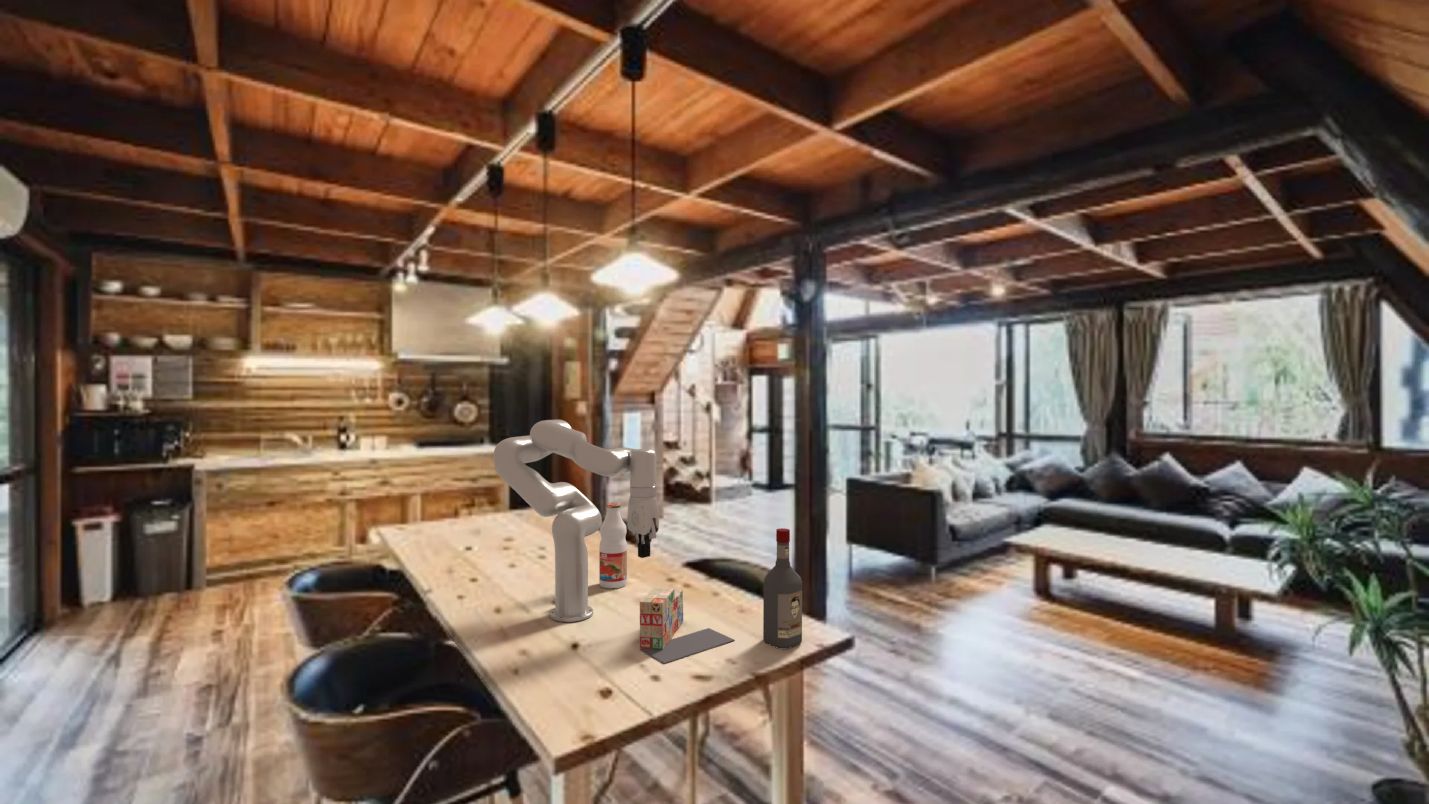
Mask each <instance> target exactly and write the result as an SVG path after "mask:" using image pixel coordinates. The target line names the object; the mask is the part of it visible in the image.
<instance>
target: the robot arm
mask: <svg viewBox="0 0 1429 804" xmlns="http://www.w3.org/2000/svg"><path fill="white" fill-rule="evenodd" d="M587 439H588V438H587V435H586V434H585V433H584V432H582V431H579V430H577V429H576V430H575V429H573V428H572V426H571V425H570V424H569V423H568V422H567V421H566V420H563V419H546V420H540V421H538V422H536V423H534V425H533V426H532V427H531V429H530V432H529V435H521V436H514V437H508V438H505V439H503V440H501V441H499V442H498V443H497V444H496V446H495V448H494V450H493V454H492V455H493V456H492V458H493V459H492V460H493V465H494V468H495V470H496V472H497V474H498V476H499V478H501V480H503V481H504V482H505V484H507V485H508V486H509V487H510V488H511V489H512V490H514V491H515V492H516V494H518V495H519V496H520V497H521V499H523V500H524V501H525V502H526V503H527V505H529V507H531V508H532V509H533V511H535V512H536V513H537V514H538V515H539V516H541V517H544V518H548V517H553V516H554V520H552V525H551V534H552V538H553V543H554V545H553V547H554V569H555V570H554V577H555V578H554V582H555V583H554V588H555V589H554V591H555V593H554V598H553V601H554V605H555V606H554V608H553V609H552V610H550V612H549V617H550V619H551V620H553V621H556V622H562V623H572V622H575V623H576V622H579V621H580V622H581V621H584V620H587V619H589V618H591V617H592V616H593V615H594V608H593V607H592V606H590V605H589V559H588V558H589V556H588V547H587V545H586V542H585V538H586V537H589V536H591V535H594V534H595V533H596V532H598V531H599V530H600V527H601V525H602V523H603V521H602V514H601V512H600V511H599V509H598V508H597V506H596V505H595V504H594V503H593V502H592V501H591V500H590V499H589V498H588V497H586V496H585V495H584V494H583V493H582V492H581V491H580V490H579V489H577V487H576V486H574V485H573V484H571V483H569V482H566V481H565V482H564V481H560V482H559V481H558V482H555V483H554V482H553V483H552V482H549V481H548V480H546V479H545V478H544V477H543V476H542V475H541V473H539V472H538V471H536V470H535V469H533V468H532V467H529V466H528V465H526V464H528V463H534V462H537V461H540V460H542V459H544V458H546V457H547V456H549V455H551V454H553V453H554V454H556V455H559V456H560V457H561V456H562V457H564V458H567V459H570V460H572V461H573V462H574V464H575V465H577V466H578V467H580V468H582V469H583V470H586V471H589V472H591V473H594V474H597V475H600V476H602V477H614V476H617V475H618V476H619V475H623V474H627V473H629V495H630V496H629V497H628V499H629V500H628V504H627V514H626V516H627V518H626V519H627V520H626V521H627V522H626V523H627V524H626V528H627V530H629V531H630V532H631V533H632V535H635V537H636V538H635V539H636V542H637V557H638V558H641V559H643V558H644V559H645V558H648V557H651V543H652V540H654V539H657V533H658V532H659V528H660V519H659V518H660V517H659V506H658V505H659V503H658V500H657V499H658V498H657V495H658V493H657V487H658V485H657V454H656V453H657V452H656V451H655V450H654V449H651V448H630V447H616V448H610V449H606V448H602V447H601V446H597V445H594V444H592V443H590V442H588V440H587Z"/></svg>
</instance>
